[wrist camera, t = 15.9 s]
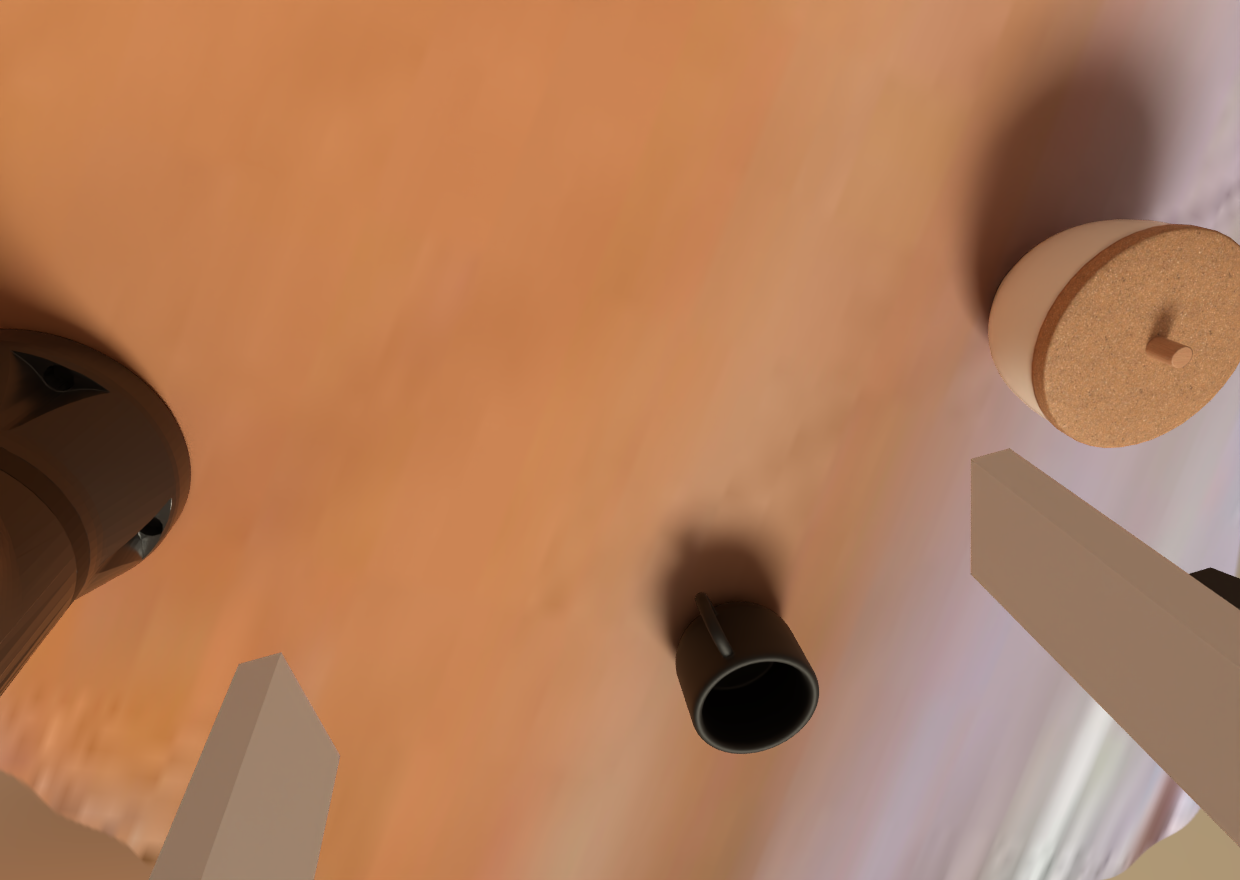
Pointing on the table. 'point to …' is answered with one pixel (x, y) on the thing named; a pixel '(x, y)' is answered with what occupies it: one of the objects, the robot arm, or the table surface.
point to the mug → (744, 677)
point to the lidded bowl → (1119, 327)
